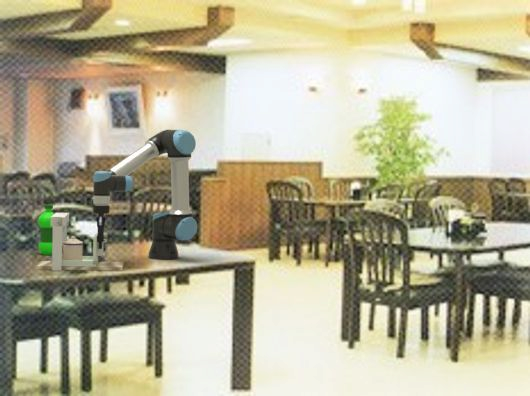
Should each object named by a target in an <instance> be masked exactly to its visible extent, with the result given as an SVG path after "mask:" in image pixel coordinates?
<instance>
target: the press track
mask: <svg viewBox="0 0 530 396" xmlns="http://www.w3.org/2000/svg"><path fill="white" fill-rule="evenodd" d="M124 265H125V264H124V261H98V263H97V265H96V267H84V266H62V270H63V271H65V270H67V271H68V270H69V271H117V270H119V271H120V272H122V271H123V269H124ZM36 269H37V270H49V269H51V271H52V260H41V261H40V262H39V263H38V264H37V265H36ZM62 270H61V271H62Z"/></svg>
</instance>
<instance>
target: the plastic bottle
mask: <svg viewBox="0 0 530 396" xmlns="http://www.w3.org/2000/svg"><path fill="white" fill-rule="evenodd" d="M44 209H45V210H44V212H43V213H41V215H40V216H39V217H38V219H37V224H38V226H39V227H40V230H39V231H40V234H39V235H40V236H39V238H40V240H39V243H38V245H37V248H38V251H39V252H40V253H41V254H42V255H45V256H52V243H53V226H51V216H53V215H54V214H55V213H54V212H53V209H54V204H44Z"/></svg>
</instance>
